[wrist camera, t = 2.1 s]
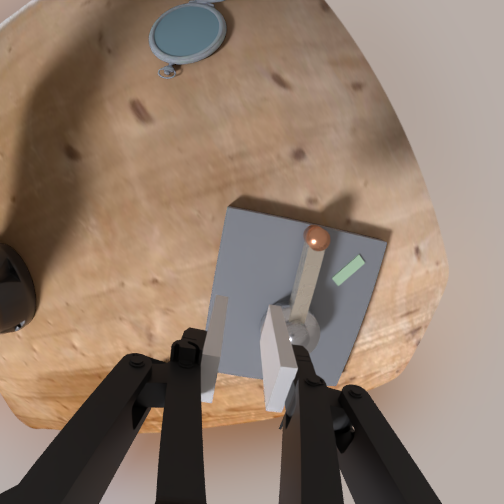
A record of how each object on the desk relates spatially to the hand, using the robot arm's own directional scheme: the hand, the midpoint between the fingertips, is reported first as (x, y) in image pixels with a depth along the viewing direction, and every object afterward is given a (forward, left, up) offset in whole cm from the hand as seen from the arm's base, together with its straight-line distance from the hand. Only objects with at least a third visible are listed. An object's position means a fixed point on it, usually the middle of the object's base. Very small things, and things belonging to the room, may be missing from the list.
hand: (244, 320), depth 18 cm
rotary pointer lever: (+7, -6, -16) cm, 19 cm away
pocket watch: (-13, +27, -19) cm, 35 cm away
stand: (+7, -6, -19) cm, 21 cm away
